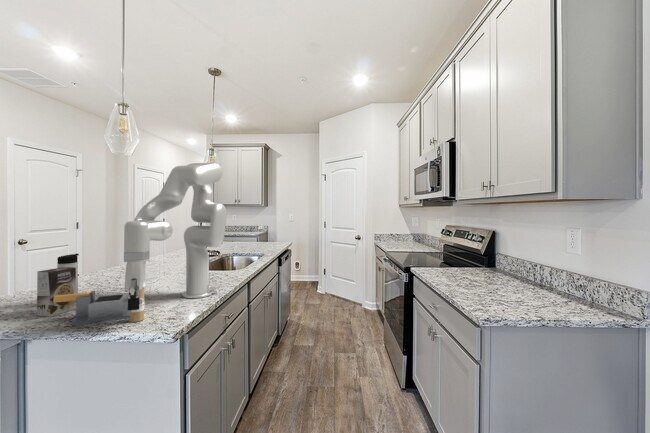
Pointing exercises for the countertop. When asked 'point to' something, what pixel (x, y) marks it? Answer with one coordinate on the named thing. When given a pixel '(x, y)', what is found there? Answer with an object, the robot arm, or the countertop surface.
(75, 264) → the travel mug
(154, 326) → the countertop surface
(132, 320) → the sprinkles bottle
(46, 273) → the coffee box
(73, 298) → the lock bar
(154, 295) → the countertop surface
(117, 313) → the dock
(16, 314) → the countertop surface
